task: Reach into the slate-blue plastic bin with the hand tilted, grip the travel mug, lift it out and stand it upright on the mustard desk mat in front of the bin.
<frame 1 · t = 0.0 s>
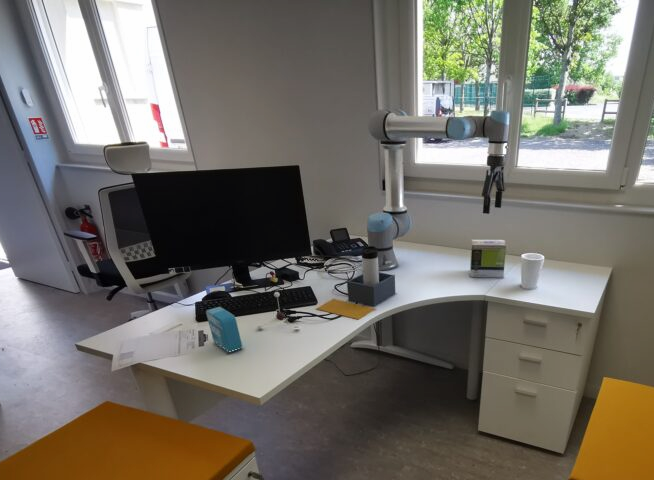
hand: (492, 210, 194), 28 cm above the table, tool pointing down, fingers open, 13 cm apart
foam cup: (528, 286, 195), on the table
molecular model: (276, 327, 161), on the table
desk mat: (345, 309, 174), on the table
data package: (228, 347, 149), on the table
tea box: (486, 274, 209), on the table
travel mug: (372, 297, 185), resting in bin
bin: (372, 297, 185), on the table
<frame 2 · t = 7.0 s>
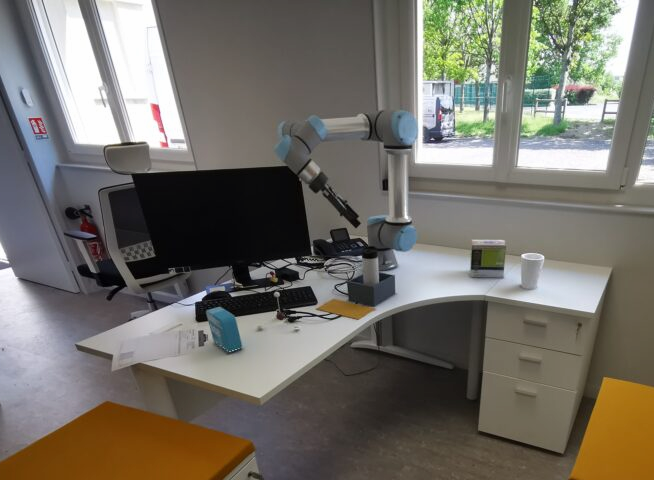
hand: (357, 222, 171), 29 cm above the table, tool tilted 40°, fingers open, 13 cm apart
nothing on the table moved.
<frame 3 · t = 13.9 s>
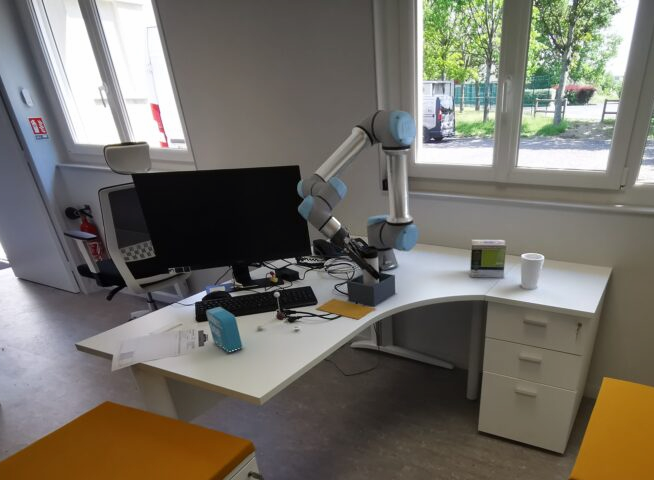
hand: (380, 274, 180), 9 cm above the table, tool tilted 45°, fingers closed on travel mug, 6 cm apart
travel mug: (372, 297, 185), resting in bin, touching gripper
everything else where it was.
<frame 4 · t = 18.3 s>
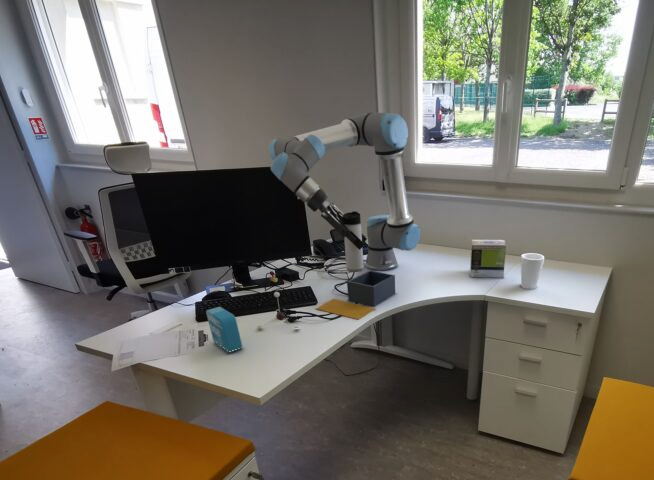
hand: (363, 244, 162), 24 cm above the table, tool tilted 45°, fingers closed on travel mug, 6 cm apart
travel mug: (355, 270, 168), point 15 cm above the table, touching gripper
everything else where it was.
when the fingers open (10 cm above the table, at t = 22.9 s): travel mug stays where it is, resting on desk mat.
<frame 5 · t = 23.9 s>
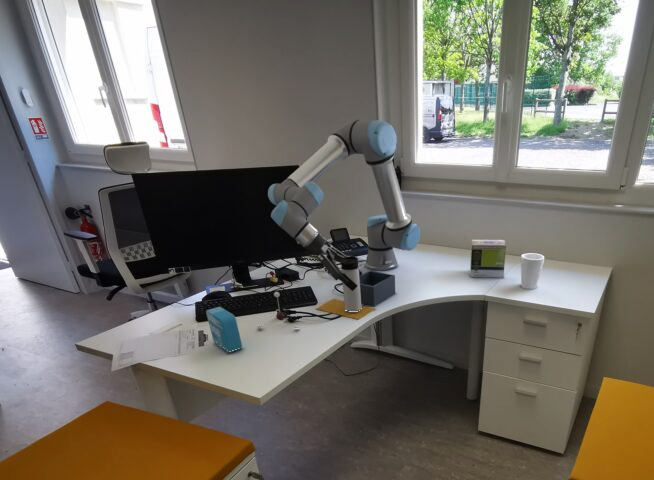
hand: (357, 281, 166), 12 cm above the table, tool tilted 45°, fingers open, 13 cm apart
travel mug: (353, 310, 173), resting on desk mat
everything else where it was.
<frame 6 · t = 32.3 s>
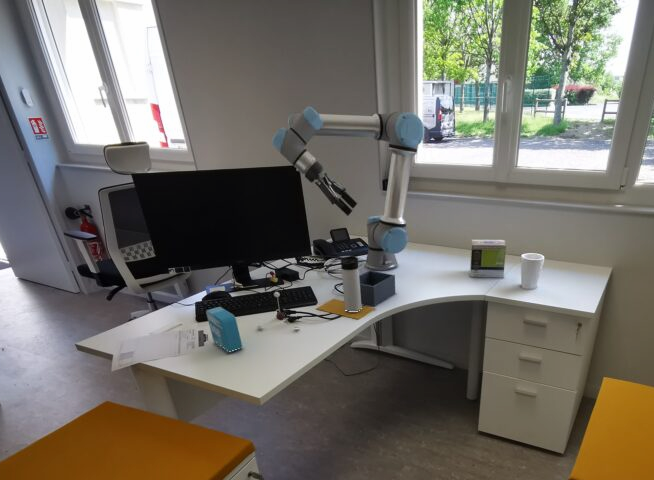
hand: (352, 209, 178), 32 cm above the table, tool tilted 45°, fingers open, 13 cm apart
nothing on the table moved.
at the end: travel mug inside the target area on the desk mat (3.9 cm from its centre), point 0.2 cm above the desk mat's base; travel mug tilted 0°; the gripper is holding nothing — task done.
